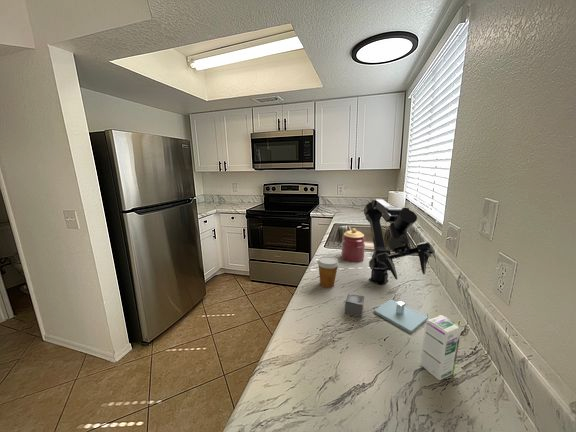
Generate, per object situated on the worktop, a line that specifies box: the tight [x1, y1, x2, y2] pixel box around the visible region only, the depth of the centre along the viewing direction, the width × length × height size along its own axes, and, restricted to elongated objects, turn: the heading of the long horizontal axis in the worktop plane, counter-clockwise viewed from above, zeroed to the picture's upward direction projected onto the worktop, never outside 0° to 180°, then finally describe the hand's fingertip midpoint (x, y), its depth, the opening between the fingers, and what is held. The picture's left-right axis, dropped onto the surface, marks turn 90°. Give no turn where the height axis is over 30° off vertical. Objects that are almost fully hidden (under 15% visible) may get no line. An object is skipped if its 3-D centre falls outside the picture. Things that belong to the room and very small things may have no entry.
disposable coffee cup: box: [316, 255, 340, 289], centre depth 108 cm, size 10×10×12 cm
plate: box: [373, 299, 429, 334], centre depth 87 cm, size 14×12×1 cm
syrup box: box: [420, 314, 462, 382], centre depth 64 cm, size 6×6×14 cm
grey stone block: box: [396, 301, 406, 315], centre depth 87 cm, size 2×3×4 cm
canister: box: [340, 228, 366, 263], centre depth 137 cm, size 13×13×18 cm
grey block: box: [344, 292, 365, 318], centre depth 90 cm, size 6×6×5 cm
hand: (409, 276), depth 83 cm, fingers open, 9 cm apart
